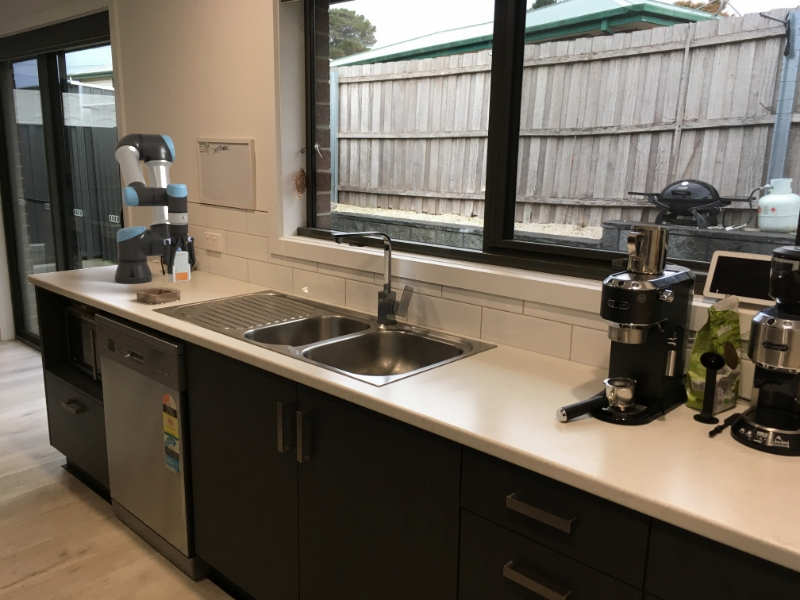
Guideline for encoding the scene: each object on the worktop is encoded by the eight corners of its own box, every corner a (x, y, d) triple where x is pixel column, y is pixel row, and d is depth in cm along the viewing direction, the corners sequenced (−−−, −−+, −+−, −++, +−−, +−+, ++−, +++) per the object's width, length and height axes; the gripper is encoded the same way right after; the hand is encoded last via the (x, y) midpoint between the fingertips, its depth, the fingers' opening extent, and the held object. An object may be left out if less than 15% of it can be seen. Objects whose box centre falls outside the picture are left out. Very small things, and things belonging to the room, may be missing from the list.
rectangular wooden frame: (137, 300, 241) (136, 292, 241) (161, 296, 250) (161, 287, 250) (155, 304, 236) (155, 296, 235) (180, 300, 245) (180, 291, 244)
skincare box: (174, 282, 254) (173, 252, 252) (170, 280, 258) (169, 251, 255) (189, 281, 258) (188, 251, 255) (185, 279, 261) (184, 250, 259)
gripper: (163, 225, 243) (165, 285, 248) (204, 222, 259) (205, 278, 264) (150, 224, 246) (153, 282, 251) (191, 221, 263) (193, 276, 268)
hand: (179, 280), depth 258 cm, fingers closed on skincare box, 7 cm apart
